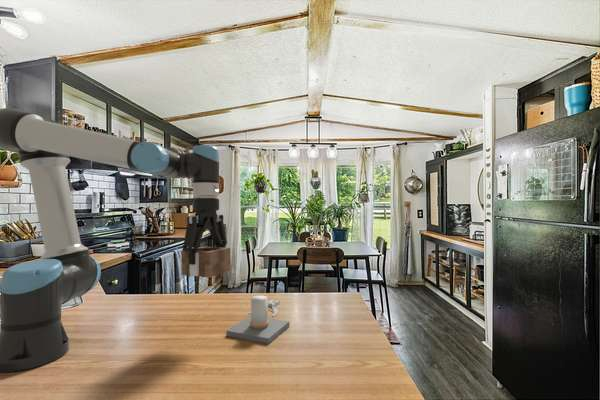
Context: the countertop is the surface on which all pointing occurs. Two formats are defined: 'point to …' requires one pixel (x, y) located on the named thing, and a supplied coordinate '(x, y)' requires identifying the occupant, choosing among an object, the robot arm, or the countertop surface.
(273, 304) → the pliers
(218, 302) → the countertop surface
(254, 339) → the square plate with peg
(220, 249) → the collar
